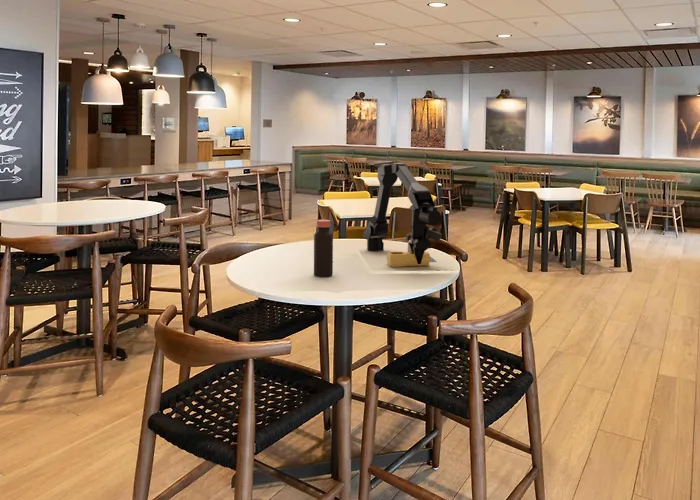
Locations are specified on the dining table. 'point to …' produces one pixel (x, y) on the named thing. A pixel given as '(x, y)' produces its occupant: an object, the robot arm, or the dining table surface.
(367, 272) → the dining table surface
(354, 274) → the dining table surface
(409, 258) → the tan long block
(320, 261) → the bottle
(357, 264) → the dining table surface
